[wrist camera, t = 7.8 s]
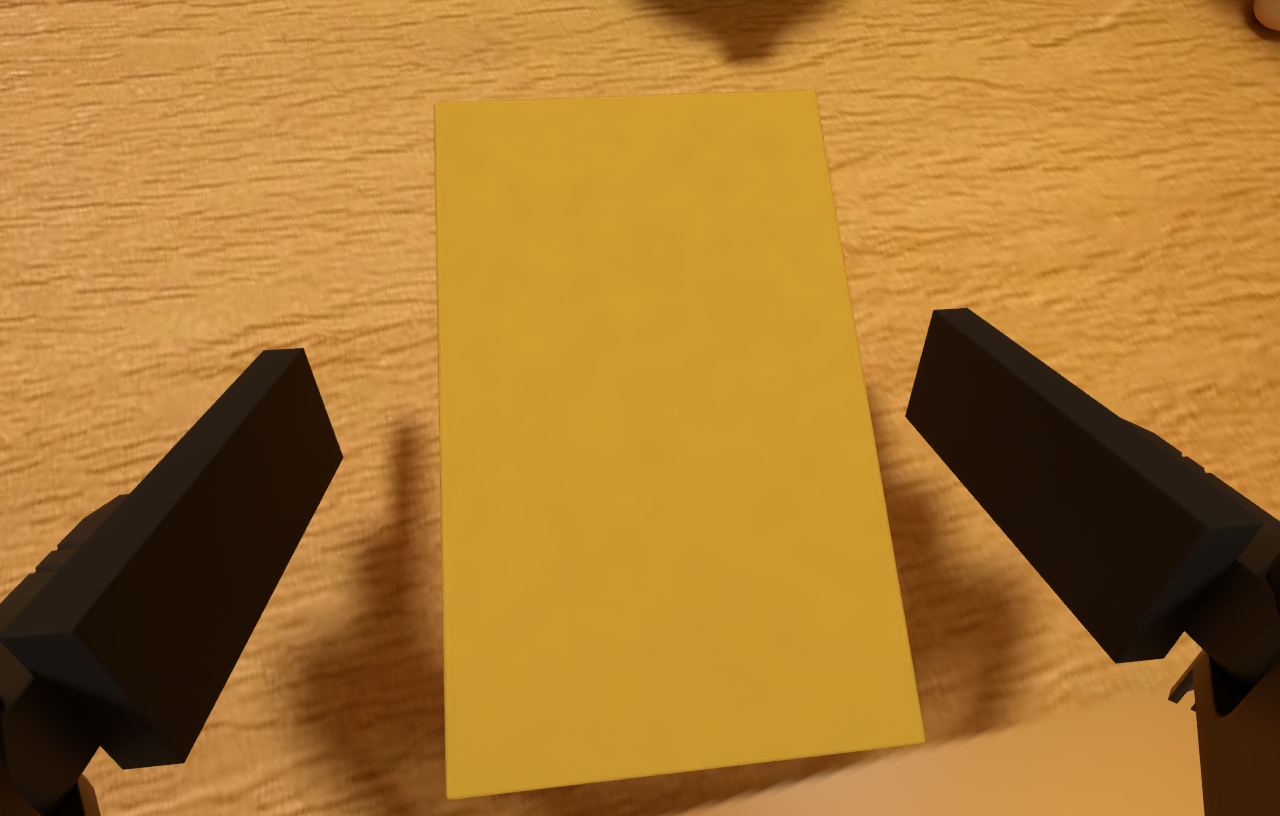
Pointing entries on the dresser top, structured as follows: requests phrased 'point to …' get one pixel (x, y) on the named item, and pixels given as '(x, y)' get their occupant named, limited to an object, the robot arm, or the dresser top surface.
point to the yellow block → (654, 447)
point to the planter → (1268, 13)
